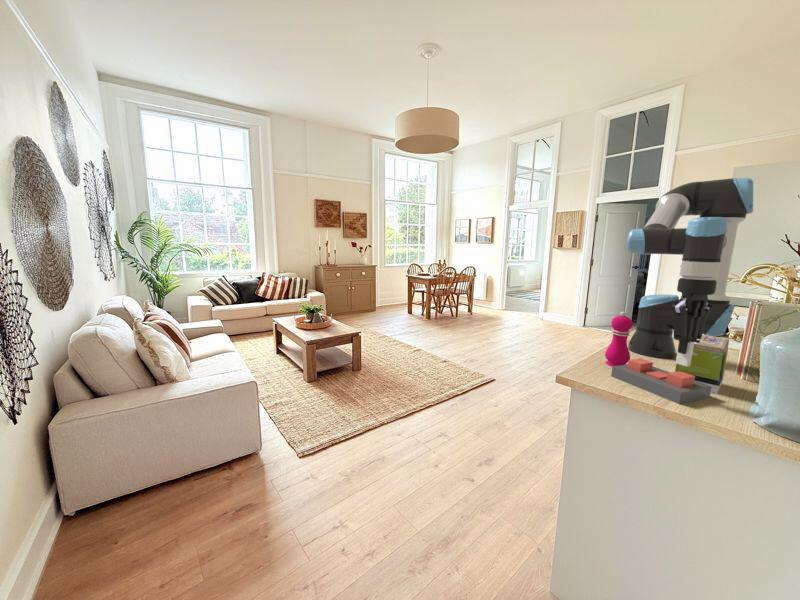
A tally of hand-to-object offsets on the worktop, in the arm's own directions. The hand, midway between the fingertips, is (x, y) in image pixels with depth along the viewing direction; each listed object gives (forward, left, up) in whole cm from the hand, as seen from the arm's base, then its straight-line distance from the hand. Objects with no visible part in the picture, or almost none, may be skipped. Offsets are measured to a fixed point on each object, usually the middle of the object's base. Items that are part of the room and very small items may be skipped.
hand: (682, 364), depth 90 cm
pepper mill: (-5, -22, -10) cm, 25 cm away
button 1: (0, -11, -7) cm, 13 cm away
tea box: (-16, -4, -10) cm, 20 cm away
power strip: (0, -9, -10) cm, 13 cm away
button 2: (0, -6, -9) cm, 10 cm away
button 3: (0, 0, -7) cm, 7 cm away
